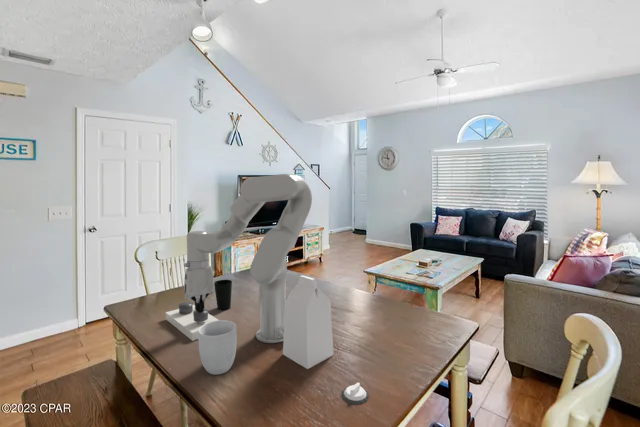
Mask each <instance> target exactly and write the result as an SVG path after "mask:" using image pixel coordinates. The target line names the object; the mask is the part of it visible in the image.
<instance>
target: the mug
mask: <svg viewBox="0 0 640 427" xmlns="http://www.w3.org/2000/svg"><path fill="white" fill-rule="evenodd" d="M237 332H238V331H237V324H236V323H235V322H234V321H231V320H226V319H221V320H220V319H218V321H212V322H209V323H206V324H204V325H203V326H201V327H200V328H199V331H198V337H199V338H198V339H197V341H198V350H199V352H198V353H199V358H200V360H201V363H202V366H203V368H204V369H205V371H206V372H207V373H208V374H210V375H214V376H215V375H216V376H218V375H223V374H225V373H227V372H228V371H229V370H230V369H231V368H232V366H233V364H234V363H235V362H234V361H235V358H236V354H237V343H238V342H237V341H238V338H237V335H238V334H237Z"/></svg>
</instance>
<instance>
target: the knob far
mask: <svg viewBox="0 0 640 427" xmlns="http://www.w3.org/2000/svg"><path fill="white" fill-rule="evenodd" d="M193 305H194V303H193V302H192V301H185V302H180V303H179V304H178V309H179V313H181V314H187V313H190V312H192V311H193Z"/></svg>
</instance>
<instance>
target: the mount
mask: <svg viewBox="0 0 640 427" xmlns="http://www.w3.org/2000/svg"><path fill="white" fill-rule="evenodd" d="M194 311H195V304H193V311H192V312H190V313H187V314H181V313H179V308H177V309H173V310H169V311H166V312H165V320H166V321H167V322H169V323H170V324H171V325H172V326H174V327H175V328H176V329H177V330H178V331H180V332H181V333H182V334H183V335H185V336H186V338H189V340H191V341H192V342H194V341H196V340H197V341H198V340H199V339H198V338H199V337H198V331H199V328H200V327H201V326H203V325H204V324H206V323H209V322H212V321H218V320H219V319H218V318H216V317H215V316H213V315H212V314H210V313H208V319H207V320H205V321H203V324H200V325H199V322H195V321H194V316H193V312H194Z"/></svg>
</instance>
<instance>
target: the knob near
mask: <svg viewBox="0 0 640 427" xmlns="http://www.w3.org/2000/svg"><path fill="white" fill-rule="evenodd" d="M208 314H209V310H208V309H207V308H204V312H201V313H199V312H197V311H196V310H195V311H194V312H193V316H194V321H195V322H199V325H200V324H203V321H205V320H207V319H208Z"/></svg>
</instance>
